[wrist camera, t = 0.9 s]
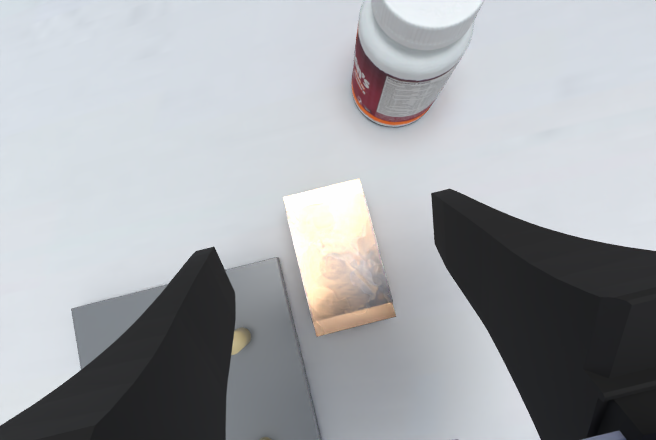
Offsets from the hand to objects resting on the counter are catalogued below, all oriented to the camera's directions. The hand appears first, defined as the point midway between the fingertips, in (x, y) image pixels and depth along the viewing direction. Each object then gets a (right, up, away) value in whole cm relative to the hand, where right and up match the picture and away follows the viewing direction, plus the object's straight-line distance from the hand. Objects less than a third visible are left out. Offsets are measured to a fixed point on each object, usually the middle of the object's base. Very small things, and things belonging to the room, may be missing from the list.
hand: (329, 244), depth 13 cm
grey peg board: (-8, -11, +13) cm, 19 cm away
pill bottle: (+5, +10, +16) cm, 20 cm away
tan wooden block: (+1, -2, +14) cm, 15 cm away
